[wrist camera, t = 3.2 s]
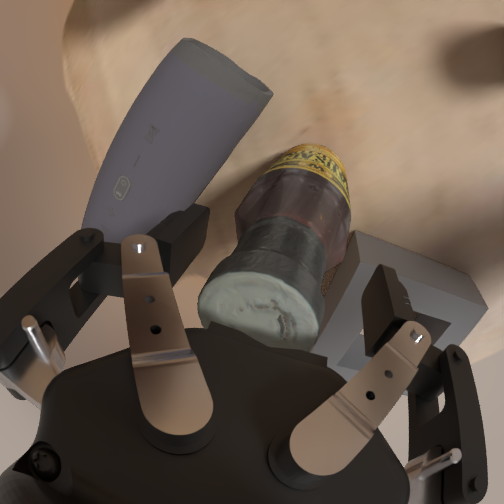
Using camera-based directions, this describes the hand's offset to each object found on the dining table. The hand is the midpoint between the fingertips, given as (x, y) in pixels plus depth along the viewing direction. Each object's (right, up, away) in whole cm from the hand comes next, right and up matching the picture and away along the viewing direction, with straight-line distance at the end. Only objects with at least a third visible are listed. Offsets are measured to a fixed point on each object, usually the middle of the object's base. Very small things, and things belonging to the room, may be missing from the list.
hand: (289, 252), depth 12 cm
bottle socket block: (+14, -7, +18) cm, 24 cm away
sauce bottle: (+4, +7, +13) cm, 15 cm away
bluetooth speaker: (-9, +10, +15) cm, 20 cm away
